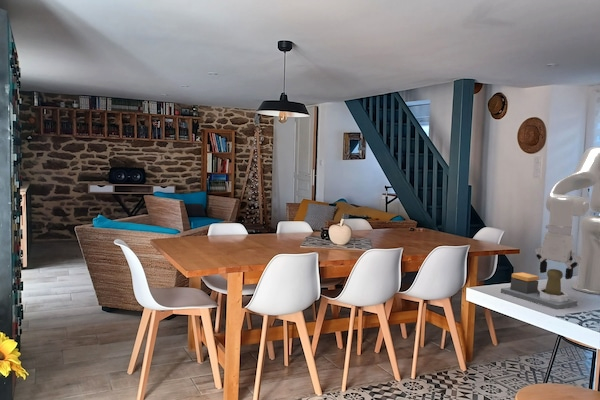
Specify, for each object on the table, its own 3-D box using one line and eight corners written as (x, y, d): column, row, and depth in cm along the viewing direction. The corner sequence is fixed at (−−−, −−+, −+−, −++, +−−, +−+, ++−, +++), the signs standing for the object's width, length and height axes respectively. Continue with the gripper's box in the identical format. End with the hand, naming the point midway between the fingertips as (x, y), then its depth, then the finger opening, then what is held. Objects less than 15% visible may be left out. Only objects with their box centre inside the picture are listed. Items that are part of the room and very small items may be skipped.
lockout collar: (546, 294, 192) (547, 287, 192) (571, 300, 184) (572, 294, 184) (532, 296, 187) (533, 290, 187) (557, 303, 179) (557, 296, 179)
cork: (563, 301, 182) (566, 272, 181) (545, 299, 183) (548, 270, 182) (558, 297, 188) (561, 268, 187) (541, 295, 189) (544, 267, 188)
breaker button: (521, 283, 200) (522, 272, 199) (537, 287, 194) (538, 276, 193) (510, 284, 196) (511, 273, 196) (527, 289, 190) (528, 277, 190)
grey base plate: (520, 289, 203) (521, 274, 203) (576, 305, 184) (578, 289, 184) (500, 292, 196) (502, 277, 196) (557, 309, 177) (559, 292, 177)
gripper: (531, 227, 189) (528, 271, 190) (577, 234, 174) (573, 282, 176) (543, 225, 193) (539, 269, 194) (589, 233, 178) (584, 280, 180)
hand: (555, 275), depth 185 cm, fingers open, 9 cm apart
